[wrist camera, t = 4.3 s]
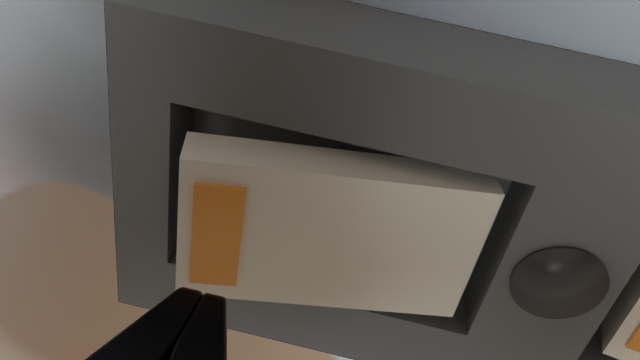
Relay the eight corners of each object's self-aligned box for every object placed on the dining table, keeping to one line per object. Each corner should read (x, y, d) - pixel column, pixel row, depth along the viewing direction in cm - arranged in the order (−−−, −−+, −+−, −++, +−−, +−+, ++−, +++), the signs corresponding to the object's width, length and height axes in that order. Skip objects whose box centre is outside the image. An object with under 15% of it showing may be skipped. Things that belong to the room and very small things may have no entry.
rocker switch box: (1077, 161, 12) (1247, 256, 10) (829, 390, 17) (899, 497, 14) (166, -38, 13) (101, 1, 11) (162, 231, 18) (116, 304, 15)
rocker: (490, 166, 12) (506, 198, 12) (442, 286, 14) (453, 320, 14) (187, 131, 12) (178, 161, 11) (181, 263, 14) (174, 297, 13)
